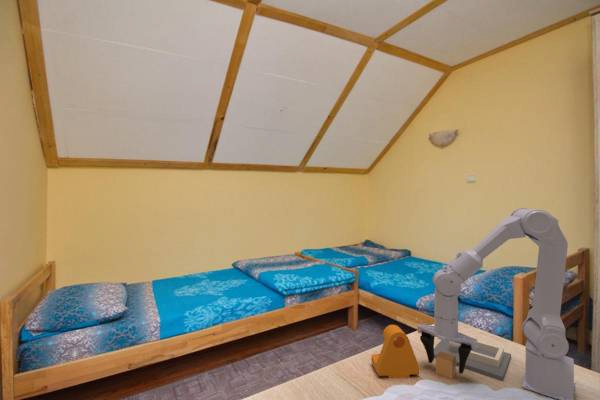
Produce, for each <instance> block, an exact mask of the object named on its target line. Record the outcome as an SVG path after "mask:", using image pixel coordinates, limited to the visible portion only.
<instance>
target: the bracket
mask: <svg viewBox="0 0 600 400" xmlns="http://www.w3.org/2000/svg"><path fill="white" fill-rule="evenodd" d="M382 337H383V341H384V342H383V344H382V347H381V350H380V353H374V354H371V364H372V366H373V368H374V370H375V372H376V374H377V375H378V376H379V377H380V376H386V377H387V378H388V379H405V378H410V375H420V365H419V363H418V360H417V357H416V355H415V352H414V349H413V346H412V344H411V342H410V339H409V337H408V336H407V334H406V333H405V331H403V330H402V329H401V327H399V326H398V325H396V324H389V325H387V326H386V327H385V328H384V330H383V332H382Z"/></svg>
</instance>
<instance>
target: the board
mask: <svg viewBox="0 0 600 400" xmlns="http://www.w3.org/2000/svg"><path fill="white" fill-rule="evenodd" d="M460 346H461V344H459V343H455V342H452V341H449V340H446V341H443V340H440V341H439V342H438V343H437V345H436V346H434V359H436V356H437V354H438V353H439V352H440V351H443V352H446V353H449V354H453V355H456V367H457V366H458V367H459V351H458V348H459V347H460ZM511 359H512V354H511V353H509V352H506V351H505V348H504V347H501V346H498V345H494V344H490V343H488V342H487V343H486V342H484V341H480V340H478V347H477V348H476V349H472V350H471V352H470V354H469V356H468V358H467V360H466V364H465V368H464V369H466V370H469V371H471V372H476V373H478V374H481V375H484V376H487V377H490V378H494V379H497V380H499V381H504V378H505V375H506V372H507V370H508V367H509V364H510V362H511Z"/></svg>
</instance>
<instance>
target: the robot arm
mask: <svg viewBox="0 0 600 400" xmlns="http://www.w3.org/2000/svg"><path fill="white" fill-rule="evenodd" d="M522 238H529V239H530V240H531V241H532V242H533V243H535V244H536V245H537V246H538V253H537V254H538V255H537V262H536V263H537V264H536V275H535V284H534V291H533V293H534V294H533V300H532V308H531V309H530V310H529V311H527V317H526V318H525V320H524V321H523V323H522V325H521V330H522V333H523V335H524V337H526V342H525V372H524V375H523V378H522V382H521V387H522V388H523V389H526V390H529V391H531V392H535V393H538V394H540V395H544V396H547V397H550V398H553V399H556V400H558V399H559V400H575V399H574V395H575V392H576V391H577V389H576V383H575V381H574V380H575V378H574V377H575V375H574V374H575V370H574V369H575V367H574V366H575V362H574V361H575V359H574V358H572V357H569V356H566V355H567V353H568V352H569V349H570V347H569V345H570V344H569V341H568V340H567V338H566V327H565V324H564V323H563V320H562V318H561V310H562V302H563V292H564V283H565V273H566V266H567V265H566V264H567V255H568V246H569V245H568V240H567V239H566V237H565V235H564V233H563V231H562V229H561V227H560V226H559V220H558V219H557V218H556V217H554V216H553V215H552V214H551V213H549V212H548V211H547V210H543V209H539V208H538V209H532V208H526V207H520V208H516V209H515V210H513V211H512V212H511V214H510V215H507V216H506V217H504V218H503V219H502V220H501V221H500V222H499V223H498V224H497V225H496V226H495V227H494V228H493V229H492V230H491V231H490V232H489V233H488V234H487V235H486V236H485V237H484V238H483V239H481V241H480V242H479V243H477V245H476V246H474V247H473V248H472V249H464V250H463V251H461V252H460V251H457V252H456V253H455V256H456V257H454V259H452V260H451V261H450V262H449V263H448V264H447V265H446V264H444V265H443V266H442V269H439V270H437V271H435V273H434V275H433V277H432V282H433V284H434V286H435V288H434V289H435V290H434V297H433V298H434V302H433V303H434V310H433V311H434V313H433V314H434V317H433V318H434V325H429V324H428V325H427V324H423V323H419V324H418V325H417V333H418V334H421V336H419V340H420V341H421V343H422V345H423V347H424V351H425V353H426V356H427V360H428V364H429V363H430V364H432V363H433V362H434V359H435V358H434V348H435V338H437V339H438V340H440V341H441V340H443V341H446V340H449V341H452V342H455V343H459V344H461V346H460V347H459V348H458V351H459V366H458V372H459V374H461V375H463V373H464V372H465V369H466V368H465V364H466V360H467V358H468V356H469V354H470V352H471V350H472V349H476V348H477V347H478V341H479V340H478V338H475V337H471V336H468V335H466V334H464V333H462V332H459V300H458V293H460V291H461V290H462V284H464V283H466V281H468V280H469V279H470V278H471V277H472V276H474V275H475V274H476V273H477V272H478V271H479V270H481V269H482V268H483V267H484V263H483V262H484V259H485V258H487V257H488V256H489V255H490V254H491V253H493V252H495V250H497V249H498V248H499V247H501V246H502V245H503V244H505V243H507V241H509V240H513V239H522Z"/></svg>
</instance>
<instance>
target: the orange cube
mask: <svg viewBox="0 0 600 400" xmlns="http://www.w3.org/2000/svg"><path fill="white" fill-rule="evenodd" d="M435 373H436V374H438V375H440V376H443V377H446V378H449V379H454V376H455V375H456V373H457V365H456V355H453V354H449V353H446V352H443V351H440V352H439V353H438V354H437V356H436V358H435Z"/></svg>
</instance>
